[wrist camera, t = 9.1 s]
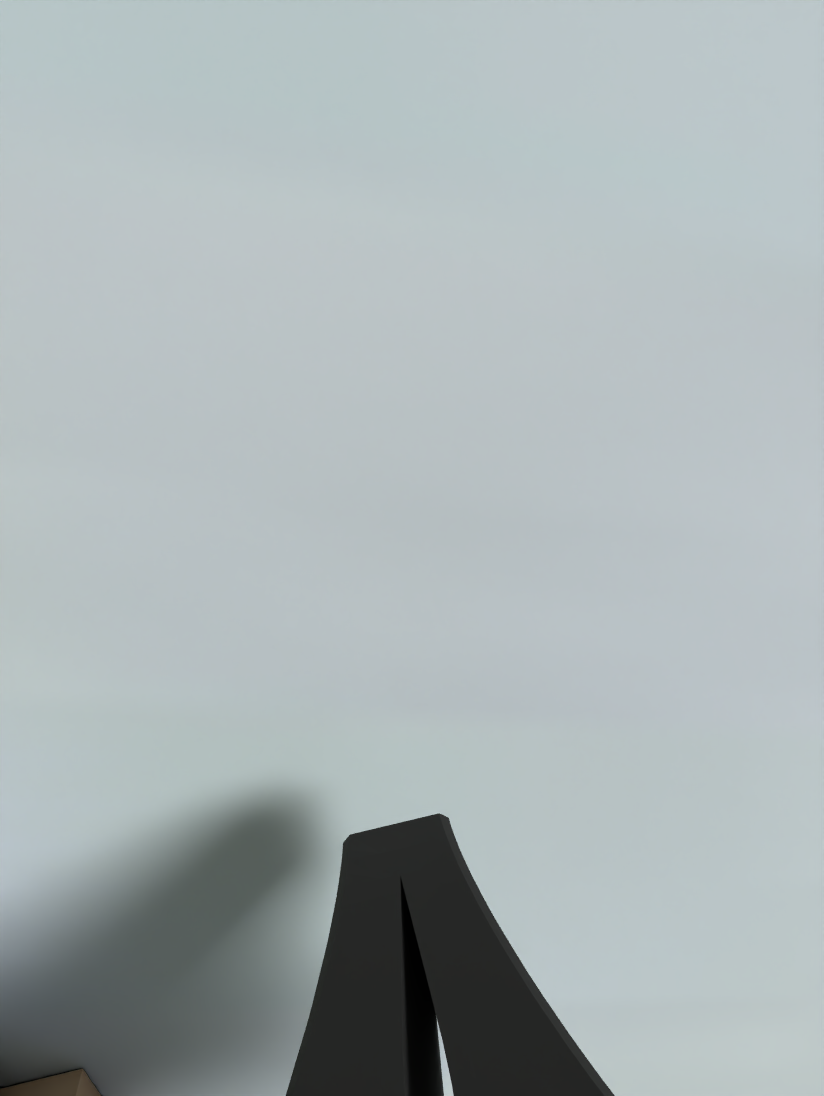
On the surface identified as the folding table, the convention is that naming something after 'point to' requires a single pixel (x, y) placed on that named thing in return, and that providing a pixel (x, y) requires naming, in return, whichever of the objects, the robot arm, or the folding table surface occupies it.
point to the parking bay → (55, 1086)
